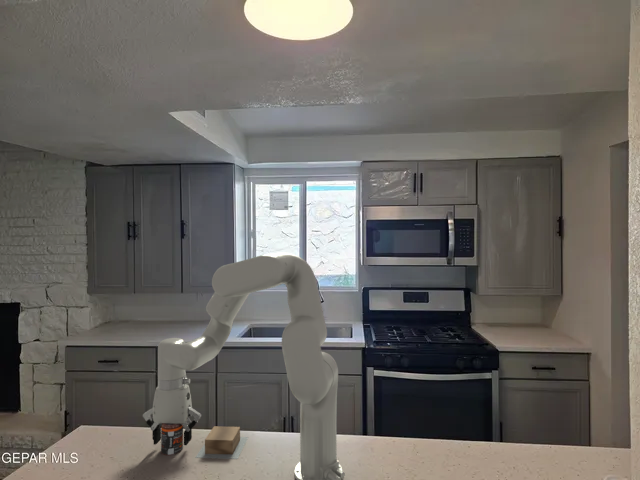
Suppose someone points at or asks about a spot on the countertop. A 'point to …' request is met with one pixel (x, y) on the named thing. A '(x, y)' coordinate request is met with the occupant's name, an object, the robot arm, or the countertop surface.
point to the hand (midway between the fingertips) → (172, 442)
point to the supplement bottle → (171, 438)
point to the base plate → (224, 456)
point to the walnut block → (222, 440)
